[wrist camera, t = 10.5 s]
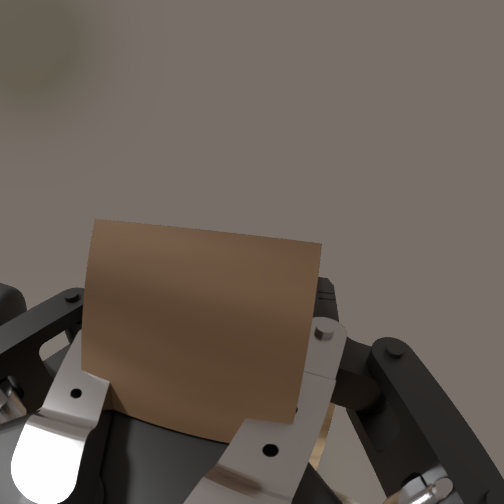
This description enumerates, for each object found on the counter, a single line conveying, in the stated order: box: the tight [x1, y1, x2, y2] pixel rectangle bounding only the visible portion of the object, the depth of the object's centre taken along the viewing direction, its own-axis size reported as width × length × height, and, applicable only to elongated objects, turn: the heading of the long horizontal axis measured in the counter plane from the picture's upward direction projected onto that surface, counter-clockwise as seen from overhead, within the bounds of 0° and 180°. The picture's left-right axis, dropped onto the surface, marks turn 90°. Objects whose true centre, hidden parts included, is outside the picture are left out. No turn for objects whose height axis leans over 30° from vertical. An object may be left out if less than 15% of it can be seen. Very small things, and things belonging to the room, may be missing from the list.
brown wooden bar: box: [81, 219, 322, 443], centre depth 18 cm, size 28×4×4 cm, turn 174°
